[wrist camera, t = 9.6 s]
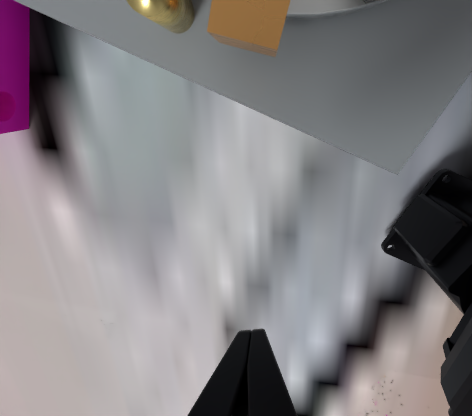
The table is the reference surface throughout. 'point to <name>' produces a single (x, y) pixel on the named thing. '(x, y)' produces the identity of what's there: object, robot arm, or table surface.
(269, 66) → the jig block
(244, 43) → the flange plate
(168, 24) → the dowel
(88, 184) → the table surface
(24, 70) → the toy block
